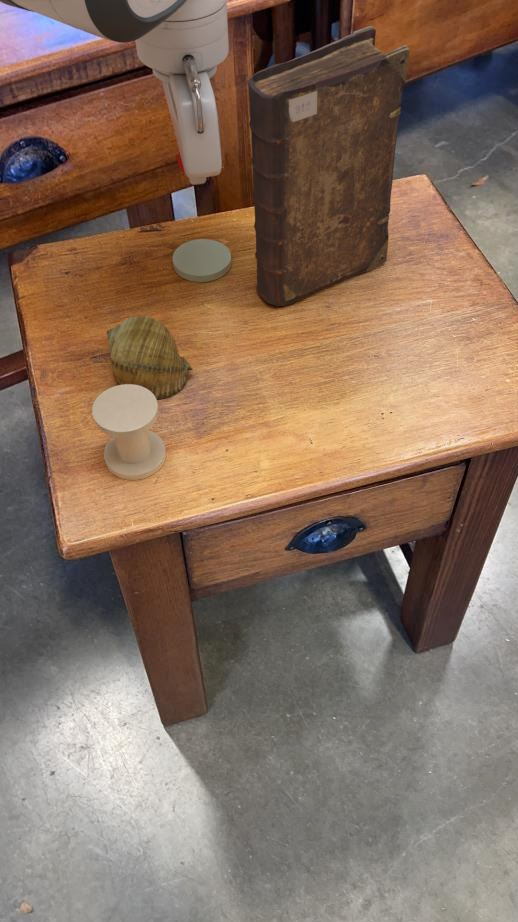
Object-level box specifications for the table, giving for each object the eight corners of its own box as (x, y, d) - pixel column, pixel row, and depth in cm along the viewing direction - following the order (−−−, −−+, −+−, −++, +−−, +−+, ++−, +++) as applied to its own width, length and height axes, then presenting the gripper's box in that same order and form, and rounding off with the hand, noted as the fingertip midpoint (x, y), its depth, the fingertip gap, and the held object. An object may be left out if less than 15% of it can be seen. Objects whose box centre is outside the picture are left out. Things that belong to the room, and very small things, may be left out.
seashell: (187, 403, 91) (207, 333, 89) (174, 413, 85) (195, 337, 82) (103, 375, 91) (121, 304, 89) (83, 382, 84) (102, 306, 82)
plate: (177, 285, 97) (176, 278, 96) (169, 249, 101) (168, 242, 100) (236, 278, 98) (235, 271, 97) (226, 242, 102) (225, 235, 101)
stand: (107, 484, 80) (94, 436, 74) (102, 438, 83) (89, 389, 77) (169, 474, 80) (161, 426, 75) (162, 429, 84) (153, 379, 78)
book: (271, 313, 94) (268, 95, 74) (240, 279, 98) (230, 61, 78) (391, 266, 99) (419, 50, 79) (357, 235, 103) (377, 20, 83)
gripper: (233, 84, 73) (239, 221, 84) (198, -15, 84) (208, 117, 96) (161, 91, 72) (178, 229, 83) (137, -10, 84) (154, 123, 95)
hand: (194, 168), depth 89 cm, fingers closed on strawberry, 3 cm apart
